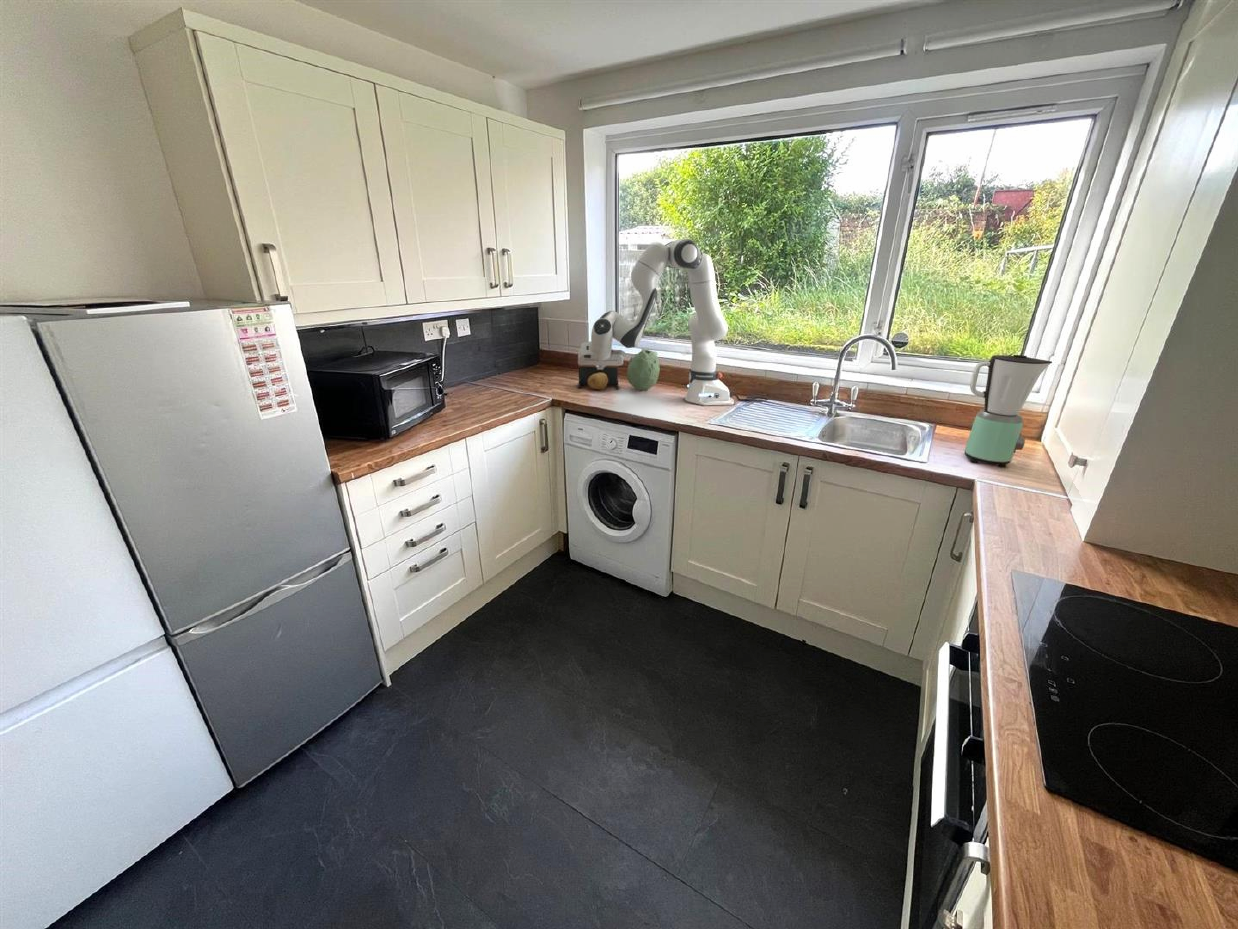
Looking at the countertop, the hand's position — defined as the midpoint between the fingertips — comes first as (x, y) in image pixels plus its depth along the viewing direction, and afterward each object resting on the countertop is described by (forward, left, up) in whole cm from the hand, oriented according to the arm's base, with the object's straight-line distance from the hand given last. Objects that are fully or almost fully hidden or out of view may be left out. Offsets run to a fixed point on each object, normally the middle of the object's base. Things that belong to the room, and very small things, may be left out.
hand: (600, 368), depth 226 cm
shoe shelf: (0, -22, -14) cm, 26 cm away
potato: (0, -18, -14) cm, 22 cm away
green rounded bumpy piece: (-22, -18, -14) cm, 31 cm away
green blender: (-127, +79, -14) cm, 150 cm away
